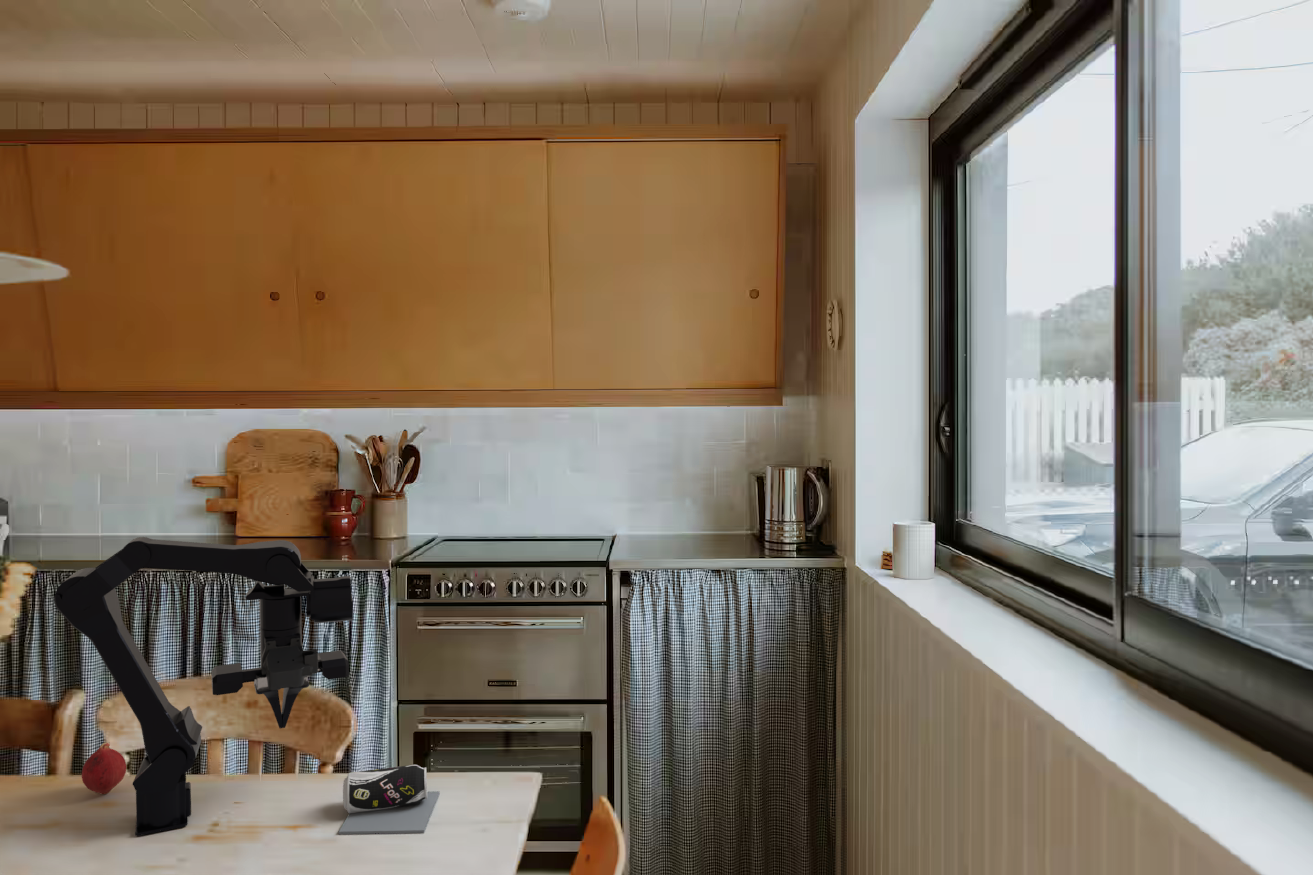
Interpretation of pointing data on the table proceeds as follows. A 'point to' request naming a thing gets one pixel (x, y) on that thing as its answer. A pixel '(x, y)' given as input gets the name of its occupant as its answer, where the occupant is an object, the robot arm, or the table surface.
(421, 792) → the beverage can
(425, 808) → the mat
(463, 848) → the table surface
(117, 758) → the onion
